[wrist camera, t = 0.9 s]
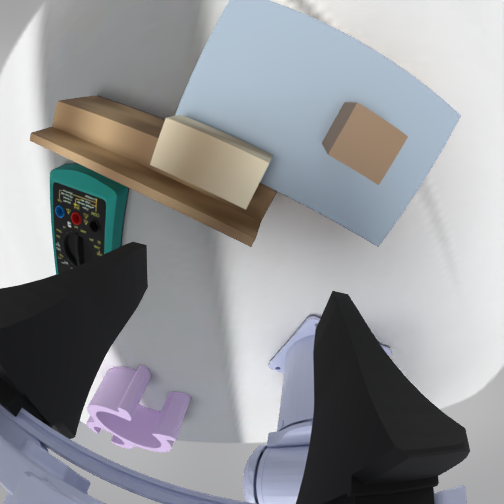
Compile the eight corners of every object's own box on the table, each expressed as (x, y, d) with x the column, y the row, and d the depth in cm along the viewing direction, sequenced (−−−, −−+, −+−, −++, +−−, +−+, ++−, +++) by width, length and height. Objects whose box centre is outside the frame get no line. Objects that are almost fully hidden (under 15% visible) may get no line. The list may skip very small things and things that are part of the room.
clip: (146, 425, 43) (133, 455, 37) (89, 387, 40) (72, 417, 34) (206, 404, 34) (193, 447, 28) (127, 351, 31) (103, 395, 25)
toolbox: (431, 110, 14) (483, 120, 9) (347, 244, 20) (361, 300, 14) (140, -12, 12) (87, -35, 7) (88, 123, 18) (29, 140, 13)
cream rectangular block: (273, 155, 13) (269, 163, 12) (252, 196, 14) (245, 209, 13) (181, 114, 13) (166, 117, 11) (165, 156, 14) (150, 164, 12)
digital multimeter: (134, 175, 20) (112, 187, 18) (123, 311, 28) (110, 329, 25) (67, 155, 20) (44, 164, 18) (70, 284, 28) (55, 300, 25)
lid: (446, 112, 12) (494, 123, 8) (371, 232, 17) (392, 279, 12) (242, 0, 11) (218, -34, 7) (178, 135, 16) (135, 151, 11)
